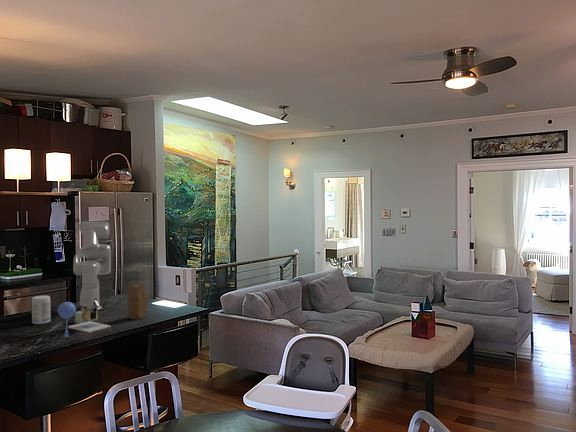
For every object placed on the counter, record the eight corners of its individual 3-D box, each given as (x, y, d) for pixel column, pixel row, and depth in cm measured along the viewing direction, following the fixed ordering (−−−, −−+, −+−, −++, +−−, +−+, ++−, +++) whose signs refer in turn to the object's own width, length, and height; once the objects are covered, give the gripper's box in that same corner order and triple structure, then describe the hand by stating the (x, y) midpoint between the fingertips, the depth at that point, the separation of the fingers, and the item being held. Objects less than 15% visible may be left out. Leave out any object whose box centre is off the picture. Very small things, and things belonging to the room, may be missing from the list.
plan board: (67, 327, 268) (67, 326, 268) (89, 322, 280) (89, 321, 280) (89, 332, 259) (89, 331, 259) (110, 327, 271) (110, 325, 271)
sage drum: (73, 322, 279) (73, 312, 279) (80, 321, 283) (80, 310, 283) (78, 323, 277) (78, 313, 277) (86, 322, 281) (86, 311, 281)
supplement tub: (50, 319, 285) (50, 294, 285) (50, 323, 277) (50, 297, 276) (32, 321, 281) (32, 296, 281) (31, 325, 273) (31, 299, 272)
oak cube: (81, 319, 268) (81, 309, 268) (90, 317, 273) (90, 307, 273) (88, 321, 265) (88, 310, 265) (97, 319, 270) (97, 308, 270)
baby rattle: (61, 334, 255) (61, 300, 254) (78, 334, 256) (78, 300, 255) (54, 339, 246) (54, 303, 246) (72, 338, 247) (72, 303, 246)
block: (137, 320, 286) (137, 286, 286) (126, 319, 289) (126, 285, 288) (148, 316, 296) (148, 283, 296) (138, 315, 299) (138, 283, 298)
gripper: (73, 285, 270) (73, 317, 270) (93, 288, 261) (93, 321, 261) (85, 283, 276) (85, 315, 277) (105, 286, 267) (105, 319, 268)
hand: (89, 317), depth 269 cm, fingers closed on oak cube, 6 cm apart
